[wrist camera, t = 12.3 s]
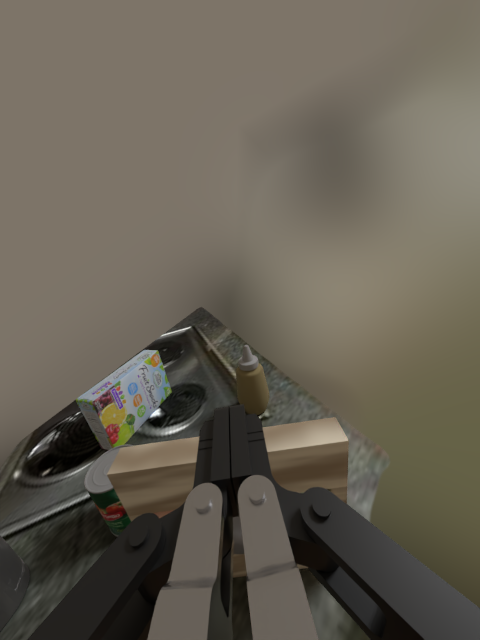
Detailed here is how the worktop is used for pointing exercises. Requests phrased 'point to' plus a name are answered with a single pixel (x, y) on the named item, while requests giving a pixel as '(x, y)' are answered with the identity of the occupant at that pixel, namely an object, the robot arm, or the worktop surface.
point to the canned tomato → (106, 492)
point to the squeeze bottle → (251, 383)
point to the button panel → (180, 462)
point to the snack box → (125, 399)
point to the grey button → (237, 536)
